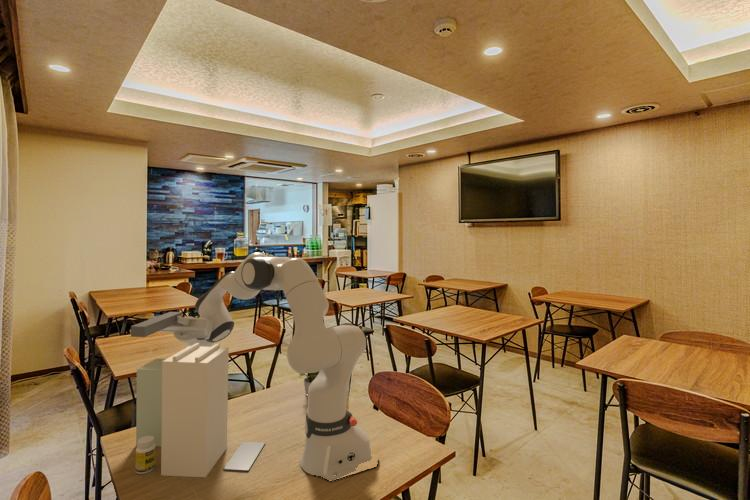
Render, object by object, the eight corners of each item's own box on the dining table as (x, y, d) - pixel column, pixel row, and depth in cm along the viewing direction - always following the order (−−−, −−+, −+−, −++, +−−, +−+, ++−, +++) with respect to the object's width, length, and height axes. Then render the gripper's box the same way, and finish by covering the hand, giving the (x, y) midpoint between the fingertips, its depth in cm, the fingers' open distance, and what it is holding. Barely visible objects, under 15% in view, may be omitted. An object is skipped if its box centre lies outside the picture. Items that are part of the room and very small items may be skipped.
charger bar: (170, 320, 129) (170, 311, 129) (181, 321, 129) (181, 312, 128) (130, 336, 109) (130, 326, 109) (144, 337, 109) (144, 326, 108)
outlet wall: (188, 445, 117) (190, 341, 115) (227, 447, 116) (229, 343, 115) (161, 475, 102) (162, 356, 101) (205, 477, 102) (207, 358, 101)
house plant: (303, 406, 145) (304, 364, 145) (286, 394, 156) (287, 354, 155) (334, 397, 155) (335, 357, 154) (316, 386, 165) (317, 348, 164)
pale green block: (155, 428, 126) (156, 358, 125) (179, 429, 126) (180, 359, 125) (136, 445, 116) (136, 369, 115) (162, 446, 116) (162, 370, 115)
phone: (243, 444, 119) (243, 441, 119) (265, 445, 119) (265, 442, 119) (223, 472, 105) (223, 468, 105) (248, 473, 105) (248, 470, 105)
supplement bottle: (146, 475, 102) (146, 445, 101) (130, 473, 103) (131, 442, 102) (159, 465, 107) (159, 435, 106) (145, 462, 107) (145, 433, 107)
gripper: (161, 319, 138) (141, 307, 126) (217, 322, 138) (202, 309, 126) (156, 337, 135) (134, 325, 123) (213, 339, 135) (197, 328, 123)
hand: (169, 317), depth 124 cm, fingers closed on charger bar, 4 cm apart
